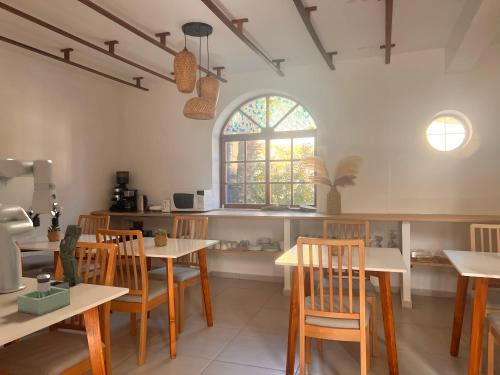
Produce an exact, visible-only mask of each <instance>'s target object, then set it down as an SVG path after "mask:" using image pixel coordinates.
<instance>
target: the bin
mask: <svg viewBox="0 0 500 375" xmlns="http://www.w3.org/2000/svg"><path fill="white" fill-rule="evenodd" d="M50 292H51V295H49V296H46V297H43V298H40V299H38V289H36V290H31V291H28V292H26V293H22V294H18V295H17V296H16V300H17V311H18V312H20V313H23V314H24V313H25V314H28V315H33V316H37V317H39V316H42V315H45V314H46V315H47V313H51V312H53V311H56V310H59V309H62V308H64V307H67V306H69V305H71V290H68V289H62V288H57V287H51V286H50Z"/></svg>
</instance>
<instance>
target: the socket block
mask: <svg viewBox="0 0 500 375" xmlns="http://www.w3.org/2000/svg"><path fill="white" fill-rule="evenodd" d="M50 286H51V287H57V288H62V289H68V290H70V288H71V287H69V282H64V281H63V280H55V281H52V282H51V281H50ZM70 291H71V290H70Z"/></svg>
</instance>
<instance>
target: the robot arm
mask: <svg viewBox="0 0 500 375" xmlns="http://www.w3.org/2000/svg"><path fill="white" fill-rule="evenodd" d="M15 178H33V190H34V191H32V201H31V205H30V206H28V207H27V212H28V214H29V215H30V217H31V218H30V217H29V216H28V214H27V212H26V211H25V209H24V208H23V207H21V206H20V205H18V204H6V205H5V204H2V203H1V202H0V294H9V293H13V292H17V291H18V292H19V291H21V290H23V289H25V288H26V287H27V283H24V282H23V274H22V273H23V271H22V256H21V254H22V253H21V251H22V250H21V249H20V247H19V246H18V245H17V243H16V242H22V241H25V240H26V241H27V240H30V239H32V238H34V236H35V235H36V228H37V227H41V221H40V220H41V219H40V215H49V214H50V216H51V217H52V218H51V227H52V228H57V227H59V226H60V225H59V224H60V223H59V218H60V217H61V215H62V212H63V210H64V207H63V206H61V205H59V199H58V195H57V191H56V190H55V188H56V185H55V184H54V164H53V160H50V159H34V160H33V159H15V158H10V157H8V158H7V157H5V158H4V157H2V158H1V157H0V191H3V190H6V189H7V188H8V187H9V186H10V184H11V183H12V182H13V181H14V180H15ZM31 219H32V220H31Z"/></svg>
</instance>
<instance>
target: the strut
mask: <svg viewBox="0 0 500 375" xmlns="http://www.w3.org/2000/svg"><path fill="white" fill-rule="evenodd" d="M50 283H51V274H49V273H43V274H42V273H41V274H39V275H37V276H36V286H37V288H36V290H38V299H40V298H43V297H46V296H49V295H51V292H50Z"/></svg>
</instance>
